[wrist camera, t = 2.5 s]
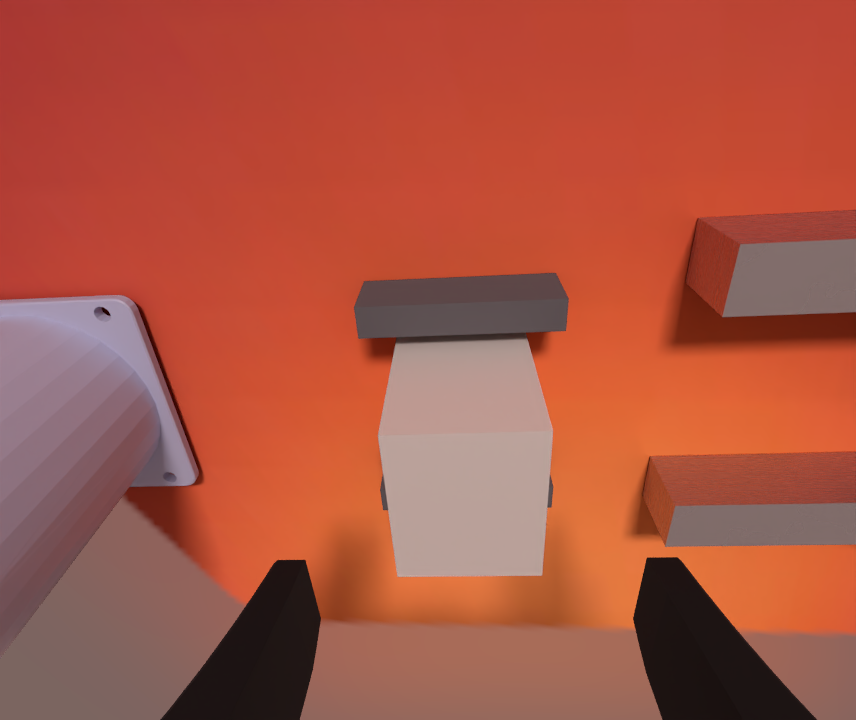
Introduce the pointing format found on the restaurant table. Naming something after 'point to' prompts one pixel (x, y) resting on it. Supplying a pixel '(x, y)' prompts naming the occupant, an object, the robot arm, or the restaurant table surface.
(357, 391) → the restaurant table surface
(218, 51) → the restaurant table surface
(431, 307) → the pair of grey blocks
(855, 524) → the block
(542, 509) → the plug
